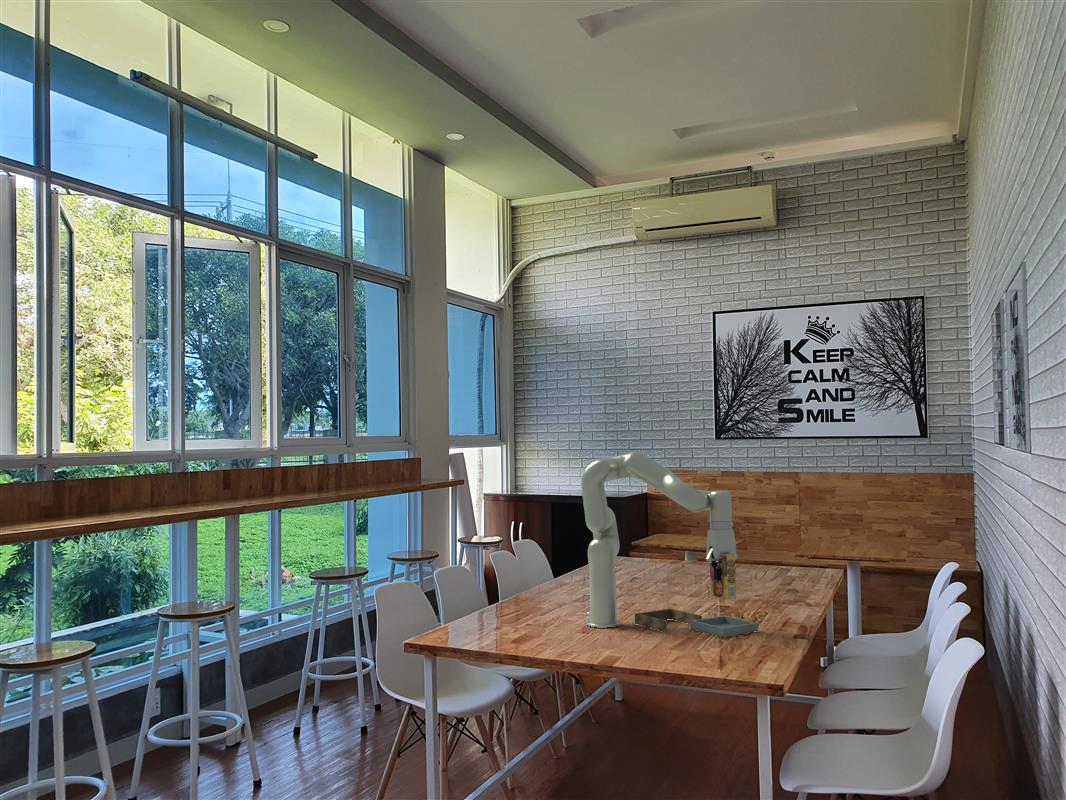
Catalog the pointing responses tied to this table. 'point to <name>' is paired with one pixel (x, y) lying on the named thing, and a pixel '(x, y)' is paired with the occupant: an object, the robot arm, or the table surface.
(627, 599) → the table surface
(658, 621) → the walnut bay
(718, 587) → the candy box
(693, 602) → the table surface
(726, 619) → the slate tray
